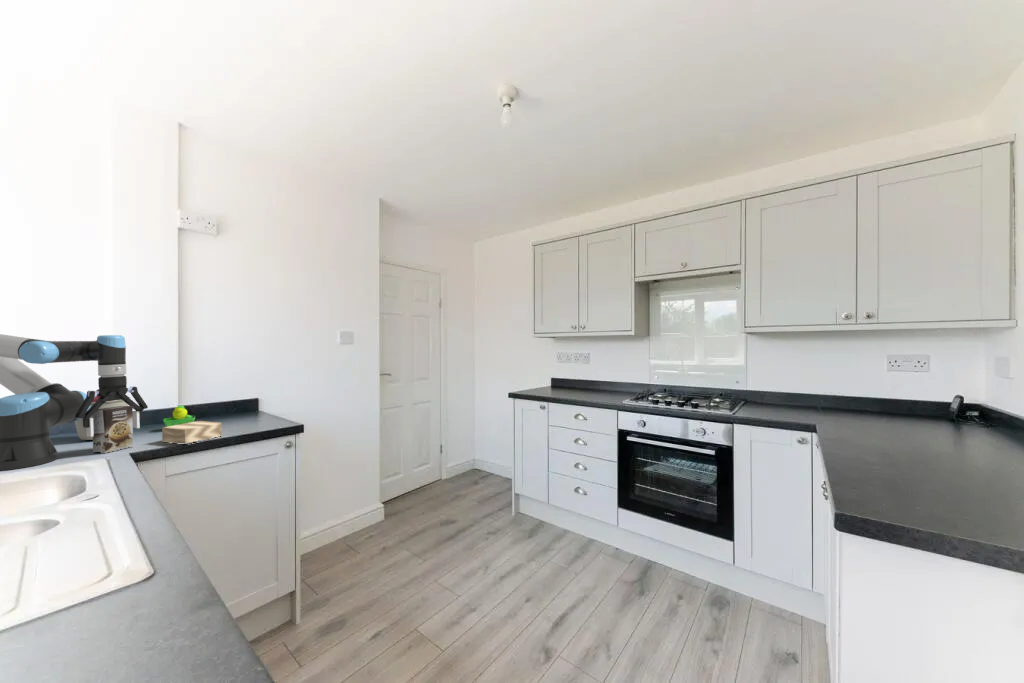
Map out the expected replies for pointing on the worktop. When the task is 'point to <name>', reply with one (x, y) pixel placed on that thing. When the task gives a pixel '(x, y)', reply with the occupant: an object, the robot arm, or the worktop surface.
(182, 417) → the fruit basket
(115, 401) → the canister
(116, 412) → the coffee box
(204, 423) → the oak block
